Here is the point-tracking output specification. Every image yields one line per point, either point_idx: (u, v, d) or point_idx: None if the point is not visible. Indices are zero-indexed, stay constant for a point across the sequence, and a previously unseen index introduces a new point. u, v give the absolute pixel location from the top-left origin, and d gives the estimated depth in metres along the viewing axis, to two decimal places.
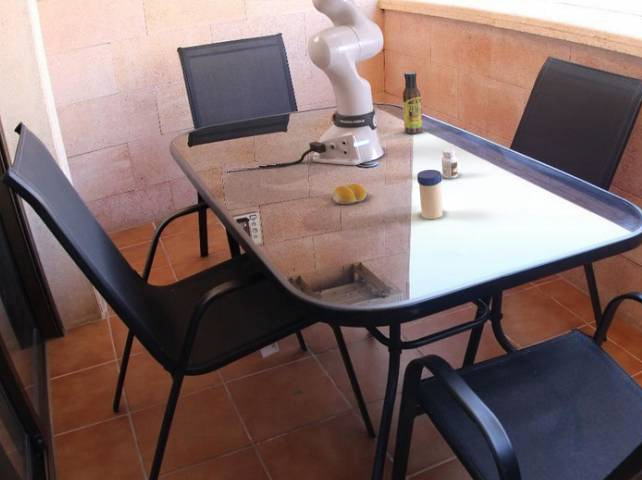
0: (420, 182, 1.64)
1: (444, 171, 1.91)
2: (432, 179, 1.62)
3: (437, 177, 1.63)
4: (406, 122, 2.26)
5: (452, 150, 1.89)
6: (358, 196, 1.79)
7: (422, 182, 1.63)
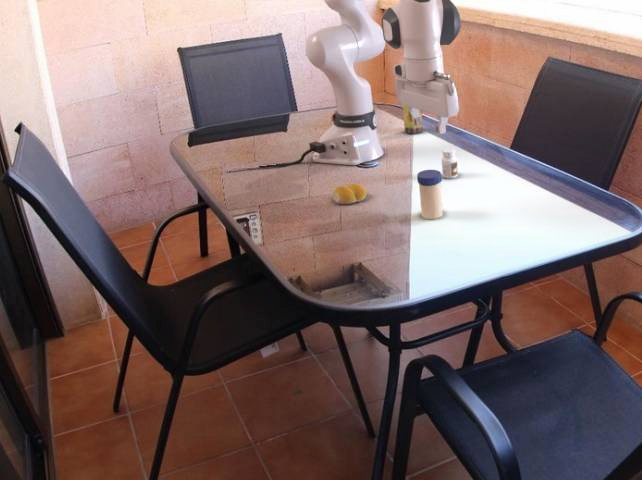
0: (420, 182, 1.64)
1: (444, 171, 1.91)
2: (432, 179, 1.62)
3: (437, 177, 1.63)
4: (406, 122, 2.26)
5: (452, 150, 1.89)
6: (358, 196, 1.79)
7: (422, 182, 1.63)
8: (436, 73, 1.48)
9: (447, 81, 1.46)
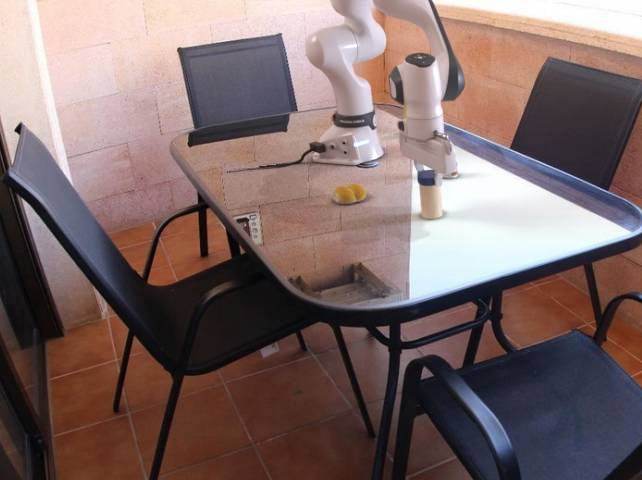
0: (420, 182, 1.64)
1: None
2: (432, 179, 1.62)
3: None
4: None
5: None
6: (358, 196, 1.79)
7: (422, 182, 1.63)
8: (436, 132, 1.54)
9: (446, 141, 1.52)
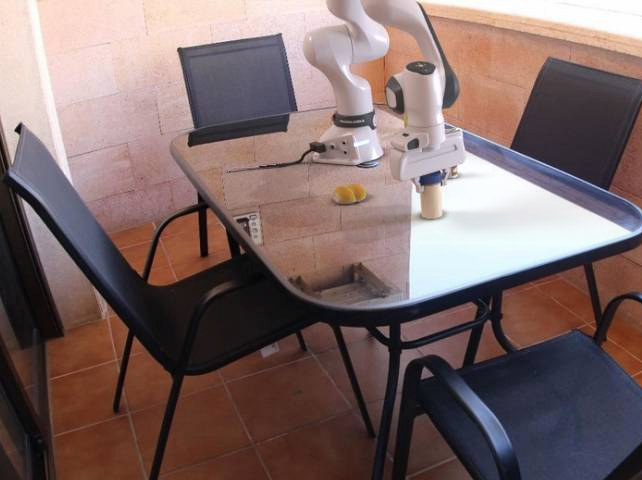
0: (437, 181, 1.63)
1: None
2: None
3: None
4: (406, 122, 2.26)
5: None
6: (358, 196, 1.79)
7: (439, 179, 1.64)
8: (445, 130, 1.61)
9: (458, 132, 1.64)
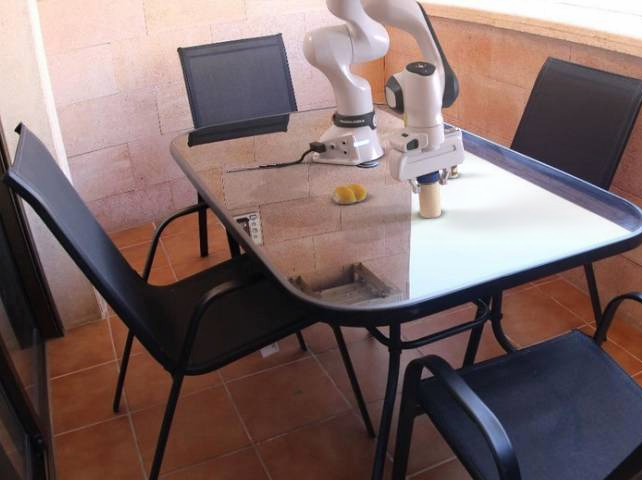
0: (435, 180, 1.64)
1: None
2: None
3: None
4: (406, 122, 2.26)
5: None
6: (358, 196, 1.79)
7: (437, 178, 1.64)
8: (444, 130, 1.61)
9: (458, 132, 1.64)
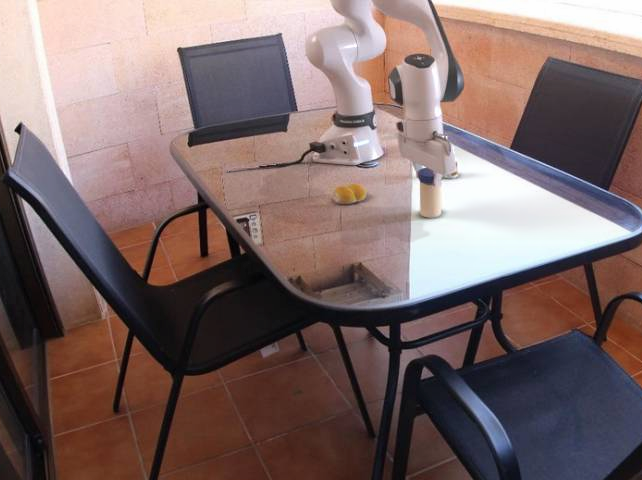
0: None
1: None
2: None
3: None
4: None
5: None
6: (358, 196, 1.79)
7: None
8: (435, 133, 1.54)
9: (445, 142, 1.52)
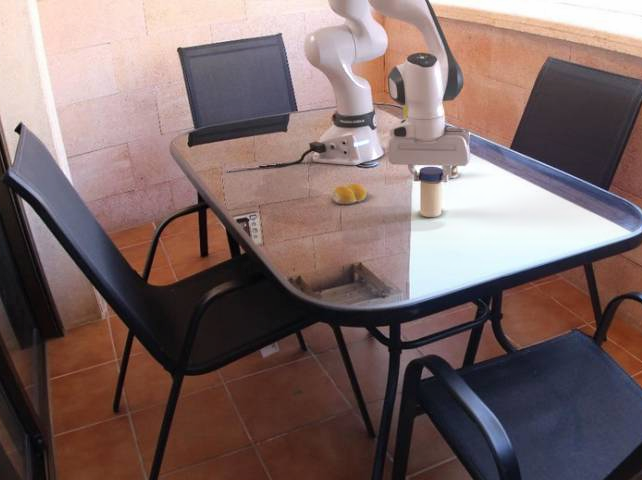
0: None
1: (444, 171, 1.91)
2: None
3: None
4: None
5: None
6: (358, 196, 1.79)
7: None
8: (447, 128, 1.57)
9: (464, 133, 1.57)
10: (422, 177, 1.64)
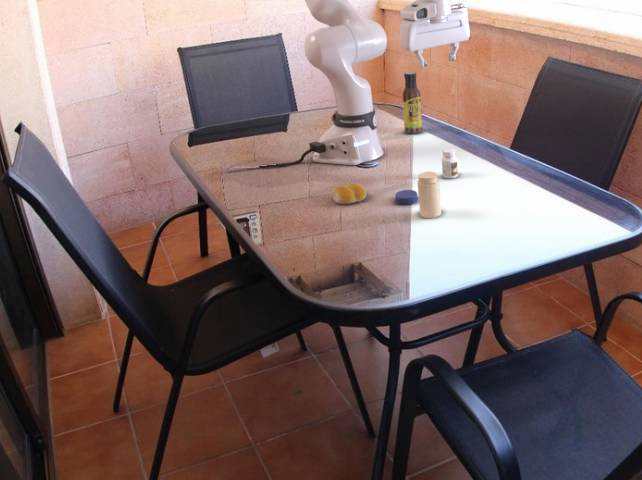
0: None
1: (444, 171, 1.91)
2: None
3: None
4: (406, 122, 2.26)
5: (452, 150, 1.89)
6: (358, 196, 1.79)
7: None
8: (451, 5, 1.73)
9: (463, 8, 1.75)
10: (405, 202, 1.76)
